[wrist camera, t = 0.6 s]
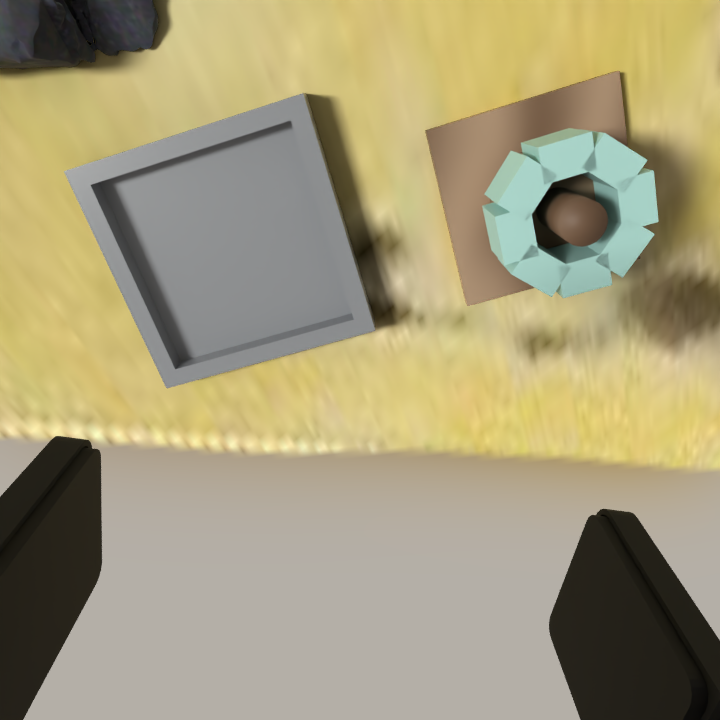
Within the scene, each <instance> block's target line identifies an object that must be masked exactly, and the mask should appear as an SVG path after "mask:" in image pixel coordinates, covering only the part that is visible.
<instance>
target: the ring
mask: <svg viewBox="0 0 720 720" xmlns="http://www.w3.org/2000/svg"><path fill="white" fill-rule="evenodd" d="M521 147H522V153H523V155H522V154H519V153H516V152H514V151H510V153H509V154H508V156H507V158H506V159H505V161H504V163H503V164H502V166H501V168H500V169H499V171H498V172H497V174H496V176H495V177H494V179H493V181H492V182H491V184H490V186H489V187H488V189H487V190H486V192H485V195H486V196H487V197H488V198H490V199H491V200H492V201H494V202H493V203H490V204H486V205H483V206H482V208H483V212H484V217H485V222H486V227H487V231H488V236H489V241H490V246H491V250H492V251H493V252H494V254H495V255H496V256H497V257H498V260H499V261H500V262H501V263H502V264H503V265H504V267H505V268H506V269H507V270H508V271H509V272H510V274H511V275H513V276H515V277H517V278H519V279H520V280H522V281H524V282H526V283H528V284H529V285H531V286H533V287H535V288H536V289H538V290H540V291H542V292H544V293H545V294H547V295H549V296H551V297H552V296H553V294H554V293H555V292H557V293H558V294H559V295H560V296H561V297H562V298H566V297H569V296H573V295H577V294H580V293H584V292H588V291H591V290H595V289H599V288H602V287H606V286H610V285H612V279H611V272H610V270H611V271H612V272H614V273H616V274H617V275H619V276H621V277H624V275H625V274H626V272H627V271H628V270H629V268H630V267H631V266H632V264H633V263H634V262H635V260H636V259H637V258H638V256H639V255H640V254H641V252H642V251H643V249H644V248H645V247H646V245H647V244H648V243H649V241H650V240H651V239H652V237H653V236H654V235H655V234H654V233H652V232H651V231H649V230H647V229H646V228H644V227H642V226H646V225H649V224H653V223H656V222H659V221H658V210H657V200H656V189H655V179H654V170H650V169H646V168H642V167H643V166H644V165H645V163H646V162H647V159H645V158H643V157H642V156H640V155H639V154H637V153H636V152H634V151H633V150H631V149H629V148H628V147H626V146H625V145H623V144H622V143H620V142H618V141H617V140H615V139H614V138H612V137H611V136H609V135H607V134H606V133H602V132H596V131H589V130H582V129H581V130H579V129H573V128H568V129H564V130H561V131H558V132H554V133H551V134H548V135H545V136H541V137H538V138H535V139H531V140H528V141H525V142H522V143H521ZM579 174H583V175H584V176H586V177H588V178H589V179H591V180H593V184H594V191H595V199H596V202H598V203H600V204H601V205H602V206H603V207H604V208H605V210H606V212H607V216H608V224H607V228H606V230H605V232H604V234H603V235H602V237H601V238H600V239H599V240H598V241H596V242H595V243H593V244H591V245H588V246H583V247H579V246H574V245H572V244H570V243H567V244H563V245H560V246H556V247H553V248H549V249H546V248H544V247H543V246H541V245H539V244H537V241H536V236H535V230H534V225H533V219H532V213H533V212H534V210H535V209H536V207H537V206H538V204H539V202H540V201H541V199H542V198H543V196H544V195H545V193H546V192H547V190H548V189H549V187H550V186H551V184H552V182H556V181H559V180H562V179H566V178H569V177H572V176H576V175H579Z"/></svg>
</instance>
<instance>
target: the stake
mask: <svg viewBox="0 0 720 720" xmlns="http://www.w3.org/2000/svg"><path fill="white" fill-rule="evenodd" d="M568 128H573V129H579V130H581V129H582V130H589V131H596V132H602V133H606V134H607V135H609V136H611V137H612V138H614V139H615V140H617V141H618V142H620V143H622V144H623V145H625V146H626V147H628V144H627V135H626V126H625V117H624V108H623V99H622V90H621V81H620V71H615V72H611V73H608V74H605V75H602V76H599V77H595V78H592V79H589V80H586V81H583V82H579V83H576V84H573V85H570V86H567V87H563V88H560V89H557V90H554V91H550V92H547V93H544V94H541V95H538V96H534V97H531V98H528V99H525V100H522V101H518V102H515V103H512V104H509V105H506V106H502V107H499V108H496V109H493V110H490V111H486V112H483V113H480V114H477V115H474V116H470V117H467V118H464V119H461V120H457V121H454V122H451V123H448V124H445V125H441V126H438V127H435V128H432V129H429V130H425V131H426V136H427V140H428V144H429V148H430V153H431V157H432V161H433V165H434V170H435V174H436V178H437V182H438V187H439V191H440V195H441V199H442V204H443V208H444V212H445V216H446V221H447V225H448V229H449V233H450V238H451V242H452V246H453V250H454V255H455V259H456V263H457V267H458V272H459V276H460V280H461V284H462V289H463V293H464V297H465V301H466V304H467V306H470V305H473V304H477V303H480V302H484V301H488V300H491V299H495V298H498V297H502V296H506V295H509V294H513V293H517V292H520V291H524V290H527V289H531V288H535V287H533V286H531V285H529V284H528V283H526V282H524V281H522V280H520V279H519V278H517V277H515V276H513V275H511V274H510V272H509V271H508V270H507V269H506V268H505V267H504V265H503V264H502V263H501V262H500V261H499V260H498V257H497V256H496V255H495V254H494V252H493V251H492V250H491V246H490V241H489V236H488V231H487V227H486V222H485V217H484V212H483V208H482V206H483V205H486V204H490V203H493V202H494V201H492V200H491V199H490V198H488V197H487V196H486V195H485V192H486V190H487V189H488V187H489V186H490V184H491V182H492V181H493V179H494V177H495V176H496V174H497V172H498V171H499V169H500V168H501V166H502V164H503V163H504V161H505V159H506V158H507V156H508V154H509V153H510V151H514V152H516V153H519V154H522V155H523V153H522V147H521V143H522V142H525V141H528V140H531V139H535V138H538V137H541V136H545V135H548V134H551V133H554V132H558V131H561V130H564V129H568ZM532 219H533V225H534V230H535V236H536V241H537V244H539V245H541V246H543V247H544V248H546V249H549V248H553V247H556V246H560V245H563V244H567V243H570V244H572V245H574V246H579V247H583V246H588V245H591V244H593V243H595V242H596V241H598V240H599V239H600V238H601V237H602V235H603V234H604V232H605V230H606V228H607V224H608V216H607V212H606V210H605V208H604V207H603V206H602V205H601V204H600V203H598V202H596V199H595V191H594V184H593V180H591V179H589V178H588V177H586V176H584V175H583V174H579V175H576V176H572V177H569V178H566V179H562V180H559V181H556V182H552V184H551V186H550V187H549V189H548V190H547V192H546V193H545V195H544V196H543V198H542V199H541V201H540V202H539V204H538V206H537V207H536V209H535V210H534V212H533V213H532ZM637 259H640V255H639V256H638V258H637Z"/></svg>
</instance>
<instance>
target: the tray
mask: <svg viewBox="0 0 720 720" xmlns="http://www.w3.org/2000/svg"><path fill="white" fill-rule="evenodd" d="M64 173H65V175H66V177H67V179H68V181H69V183H70V185H71V187H72V190H73V192H74V194H75V196H76V198H77V200H78V202H79V204H80V206H81V209H82V211H83V213H84V215H85V217H86V219H87V221H88V223H89V226H90V228H91V230H92V232H93V234H94V236H95V238H96V240H97V242H98V245H99V247H100V249H101V251H102V253H103V255H104V257H105V259H106V261H107V264H108V266H109V268H110V270H111V272H112V274H113V276H114V278H115V280H116V283H117V285H118V287H119V289H120V291H121V293H122V295H123V297H124V299H125V302H126V304H127V306H128V308H129V310H130V312H131V314H132V316H133V319H134V321H135V323H136V325H137V327H138V329H139V331H140V333H141V335H142V338H143V340H144V342H145V344H146V346H147V348H148V350H149V352H150V354H151V357H152V359H153V361H154V363H155V365H156V367H157V369H158V371H159V373H160V376H161V378H162V380H163V382H164V384H165V386H166V388H170V387H173V386H177V385H181V384H184V383H188V382H191V381H195V380H199V379H202V378H206V377H209V376H213V375H217V374H220V373H224V372H228V371H231V370H235V369H238V368H242V367H246V366H249V365H253V364H257V363H260V362H264V361H267V360H271V359H275V358H278V357H282V356H285V355H289V354H293V353H296V352H300V351H304V350H307V349H311V348H314V347H318V346H322V345H325V344H329V343H332V342H336V341H340V340H343V339H347V338H351V337H354V336H358V335H361V334H365V333H369V332H372V331H375V319H374V316H373V313H372V310H371V306H370V303H369V300H368V296H367V293H366V290H365V286H364V283H363V280H362V277H361V273H360V270H359V267H358V263H357V260H356V257H355V253H354V250H353V247H352V243H351V240H350V237H349V234H348V230H347V227H346V224H345V220H344V217H343V214H342V210H341V207H340V204H339V201H338V197H337V194H336V191H335V187H334V184H333V181H332V177H331V174H330V171H329V168H328V164H327V161H326V158H325V154H324V151H323V148H322V144H321V141H320V138H319V135H318V131H317V128H316V125H315V121H314V118H313V115H312V111H311V108H310V105H309V101H308V98H307V95H306V93H302V94H299V95H296V96H293V97H290V98H287V99H284V100H281V101H278V102H275V103H272V104H269V105H266V106H263V107H260V108H257V109H253V110H250V111H247V112H244V113H241V114H238V115H235V116H232V117H229V118H226V119H223V120H220V121H217V122H214V123H211V124H208V125H204V126H201V127H198V128H195V129H192V130H189V131H186V132H183V133H180V134H177V135H174V136H171V137H168V138H165V139H162V140H159V141H155V142H152V143H149V144H146V145H143V146H140V147H137V148H134V149H131V150H128V151H125V152H122V153H119V154H116V155H113V156H110V157H106V158H103V159H100V160H97V161H94V162H91V163H88V164H85V165H82V166H79V167H76V168H73V169H70V170H67V171H64Z"/></svg>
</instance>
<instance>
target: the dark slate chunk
mask: <svg viewBox="0 0 720 720" xmlns="http://www.w3.org/2000/svg"><path fill="white" fill-rule="evenodd" d="M157 28H158V15H157V12H156V10H155V8H154V4H153V1H152V0H0V68H18V69H26V68H32V67H74V66H77V65H78V64H79V63H80V61H81V60H85V61H88V62H91V63H92V62H95V53H94V52H95V50H97V49H98V50H100V51H101V52H103V53H104V54H107V55H118V54H119V50H126V51H135V50H137V49H138V48H140V47H141V48H143V49H149V48H151V46H152V43H153V37H154V35H155V32H156V30H157ZM93 37H94V39H95V41H96V44H94V43H93V41H94V40H93ZM86 40H87V41H89V42H91V43H92V45H91V46H90V45H89V44H88V42H87V41H86Z"/></svg>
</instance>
